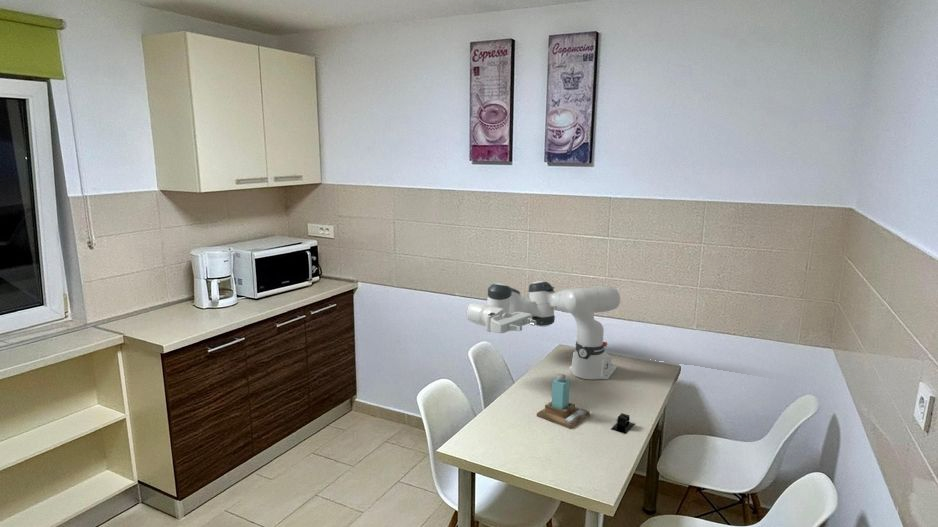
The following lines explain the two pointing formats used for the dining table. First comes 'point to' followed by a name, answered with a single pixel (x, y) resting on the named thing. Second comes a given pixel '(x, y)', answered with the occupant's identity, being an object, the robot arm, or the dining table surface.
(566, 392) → the teal bottle
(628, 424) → the black block on base
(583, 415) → the jig
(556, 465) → the dining table surface
